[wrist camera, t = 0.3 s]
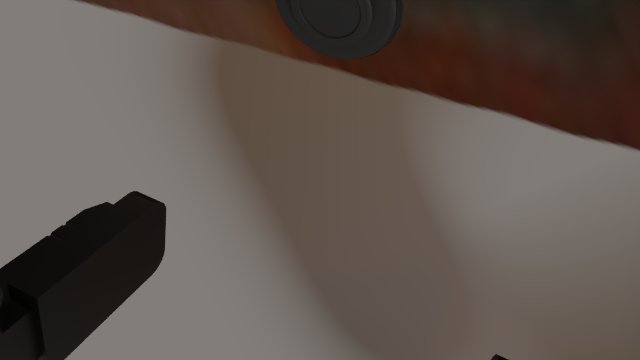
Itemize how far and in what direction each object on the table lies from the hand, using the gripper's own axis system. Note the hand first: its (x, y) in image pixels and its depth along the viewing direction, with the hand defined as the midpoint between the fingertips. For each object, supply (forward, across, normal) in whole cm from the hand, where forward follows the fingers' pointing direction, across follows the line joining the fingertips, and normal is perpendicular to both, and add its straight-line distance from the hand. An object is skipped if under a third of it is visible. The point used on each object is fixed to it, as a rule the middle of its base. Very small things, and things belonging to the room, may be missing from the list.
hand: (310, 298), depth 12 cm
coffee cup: (+30, +8, -3) cm, 32 cm away
